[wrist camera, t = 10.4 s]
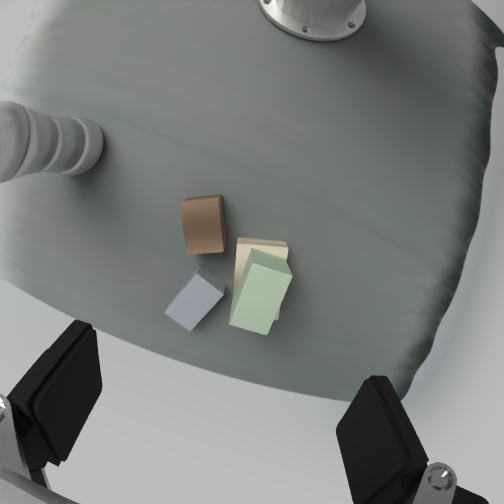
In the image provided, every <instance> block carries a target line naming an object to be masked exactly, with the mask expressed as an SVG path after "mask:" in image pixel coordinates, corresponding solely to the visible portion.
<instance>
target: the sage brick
mask: <svg viewBox="0 0 504 504" xmlns="http://www.w3.org/2000/svg"><path fill="white" fill-rule="evenodd" d="M291 279H292V273H291V271H290V269H289V267H288V264H287V262H286V260H285V259H284V258H281V257H278V256H275V255H272V254H269V253H266V252H264V251H261V250H258V249H255V248H251V251H250V253H249V256H248V259H247V261H246V264H245V267H244V270H243V272H242V275H241V278H240V280H239V283H238V286H237V289H236V291H235V294H234V297H233V300H232V305H231V314H230V325H233V326H236V327H239V328H243V329H246V330H249V331H253V332H256V333H260V334H263V335H267V334H268V332H269V330H270V327H271V325H272V323H273V321H274V318H275V316H276V314H277V312H278V309H279V307H280V305H281V302H282V300H283V298H284V295H285V293H286V291H287V288H288V286H289V284H290V281H291Z"/></svg>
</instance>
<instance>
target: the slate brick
mask: <svg viewBox="0 0 504 504" xmlns="http://www.w3.org/2000/svg"><path fill="white" fill-rule="evenodd" d="M225 285H226V284H225V283H223V282H222V281H221V280H220V279H218V278H217V277H216V276H215V275H213V274H212V273H211V272H209V271H208V270H207V269H206V268H204V267H203V266H202V265H200V266H199V268H198V269H197V270H196V271H195V272H194V274H193V275H192V276H191V277H190V278H189V280H188V281H187V282H186V283H185V284H184V286H183V287H182V288H181V289H180V290H179V292H178V293H177V294H176V295H175V297H174V298H173V299H172V300H171V301H170V303H169V305H168V307H167V309H166V310H165V312H164V313H165V314H167V315H168V316H169V317H171V318H172V319H173V320H175V321H176V322H177V323H179V324H180V325H181V326H183V327H184V328H186V329H187V330H188V331H191V330H192V329H193V328H194V327H195V326H196V325H197V323H198V322H199V321H200V320H201V319H202V318H203V317H204V316H205V315H206V314H207V312H208V311H209V310H210V309H211V308H212V307H213V306H214V305H215V304H216V303H217V302H218V300H219V299H220V298H221V297H222V296H223V295H224V291H225Z"/></svg>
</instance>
